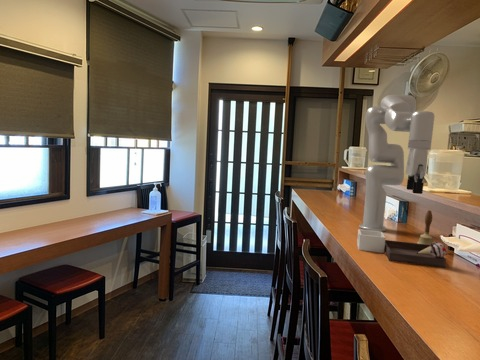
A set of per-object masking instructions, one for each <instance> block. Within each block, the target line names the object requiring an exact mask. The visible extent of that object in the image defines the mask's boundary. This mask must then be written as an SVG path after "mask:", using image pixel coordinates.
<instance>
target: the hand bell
mask: <svg viewBox="0 0 480 360" xmlns="http://www.w3.org/2000/svg"><path fill="white" fill-rule="evenodd" d="M432 222H433V214H432V210H429V209H428V210H427V212H426V214H425V217H424V225H425V228H424V231H423V232H424V233H421V234H420V235H419V238H418V241H417V243H418V244H427V245H431V244H432V243H433V242H434V241H433V239H434V238H433V236H431V234H430V229H431V228H430V227H431V224H432Z"/></svg>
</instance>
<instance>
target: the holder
mask: <svg viewBox="0 0 480 360" xmlns="http://www.w3.org/2000/svg"><path fill="white" fill-rule="evenodd" d="M385 240H386V236H385V235H384V232H383V231H381V232H379V231H369V230H365V229H361V228H360V229H357V240H356V244H357V249H358V251H365V252H372V253H373V252H374V253H380V254H381V253H383V254H385V252H384V248H385Z"/></svg>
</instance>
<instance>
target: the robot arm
mask: <svg viewBox="0 0 480 360" xmlns="http://www.w3.org/2000/svg"><path fill="white" fill-rule="evenodd" d="M416 108H417V100H416V98H415V97H414V96H413V95H411V94H388V95H386V96H384V97H383V98H382V99H381V101H380V105H375V106H371V107H369V108H367V110H366V113H365V117H364V118H365V120H364V122H365V126H366V130H367V133H368V134H367V135H368V159H369V161H371V162H372V163H376V164H371V165H369V166H367V168H366V169H365V172H364V173H365V193H364V194H365V196H364V197H365V199H364V208H363V218H362V223H360V224H359V225H358V227H359V228H360V229H361V230H369V231H379V232H386V231H387V227H386V226H385V225H384V220H385V212H386V203H387V192H386V191H385V189H384V188H383V186H400V185H402V184H403V182H404V178H405V174H406V175H407V182H406V190H409V191H412V192H411V193H412V194H418V195H422V194H423V191H424V182H425V176H426V173H427V167H428V166H427V165H428V151H431V149H432V148H431V147H432V140H433V131H434V126H435V125H434V122H435V113H434V111H433V112H432V111H426V110H425V111H424V110H422V111H420V110H417V111H416ZM382 125H386V127H387V128H388V129H389V130H391V131H393V132H406V133H407V132H408V134H409V135H408V144H407V149H408V151H409V152H408V156H407V162H406V167H405V152H404V149H403V147H402V146H401V145H400V144H398V143H388V134H387V132H386V130H385V128H384V127H383V126H382ZM377 163H378V164H377ZM379 163H381V164H379ZM387 164H390V165H387ZM405 168H406V169H405Z"/></svg>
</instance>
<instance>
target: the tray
mask: <svg viewBox="0 0 480 360" xmlns="http://www.w3.org/2000/svg"><path fill="white" fill-rule="evenodd" d="M429 246H430V245H427V244H418V242H416V243H415V242H407V241H400V240H397V241H396V240H391V239H385V248H384V254H385V256H386V257H387V260H388V261H389V262H396V263H403V264H411V265H418V266H419V265H420V266H426V267H435V268H442V269H445V268H446V264H447V259H446V258H445V256H443V257H442V258H435V257H433V256H429V255H423V254H417V253H418V252H420V251H422V250H424V249H425V248H427V247H429Z"/></svg>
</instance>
